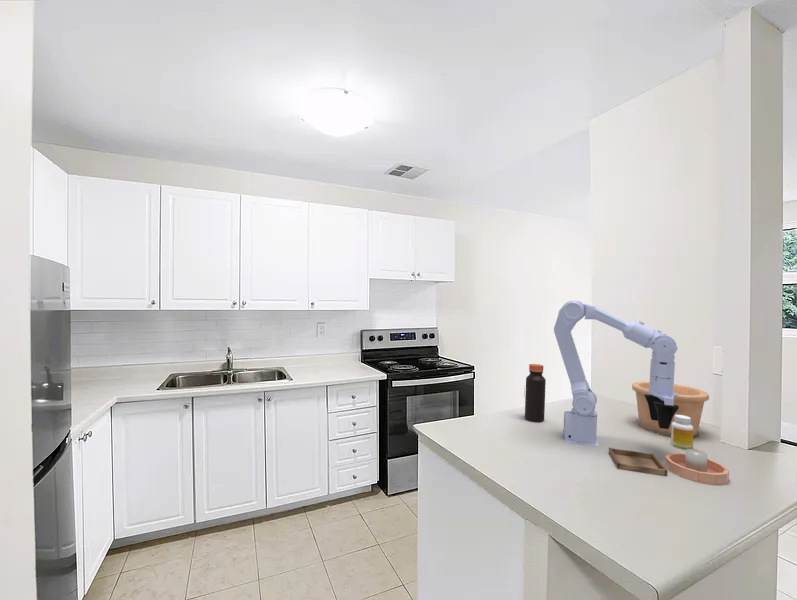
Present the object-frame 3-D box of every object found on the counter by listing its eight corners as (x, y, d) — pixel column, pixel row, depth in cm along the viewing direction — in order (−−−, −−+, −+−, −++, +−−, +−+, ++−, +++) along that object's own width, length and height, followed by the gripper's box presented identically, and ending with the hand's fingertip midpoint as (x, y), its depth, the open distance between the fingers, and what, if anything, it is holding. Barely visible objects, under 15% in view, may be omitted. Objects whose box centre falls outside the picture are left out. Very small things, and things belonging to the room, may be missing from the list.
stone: (689, 473, 97) (689, 454, 97) (682, 466, 101) (683, 447, 101) (709, 476, 96) (710, 457, 96) (702, 469, 100) (702, 450, 100)
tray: (617, 470, 99) (617, 463, 99) (608, 454, 110) (608, 447, 110) (666, 478, 96) (667, 470, 96) (652, 461, 106) (653, 453, 106)
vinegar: (546, 419, 141) (547, 364, 141) (542, 423, 136) (544, 367, 135) (527, 415, 145) (529, 362, 145) (522, 420, 139) (524, 365, 139)
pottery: (635, 415, 149) (636, 378, 149) (707, 429, 135) (709, 388, 135) (625, 429, 133) (627, 388, 132) (707, 446, 119) (708, 400, 119)
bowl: (676, 481, 95) (676, 469, 95) (659, 460, 107) (659, 450, 107) (738, 490, 91) (739, 478, 91) (713, 468, 103) (714, 457, 103)
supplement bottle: (696, 452, 113) (697, 420, 113) (676, 450, 115) (677, 418, 114) (686, 446, 119) (688, 414, 119) (667, 444, 120) (668, 413, 120)
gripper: (688, 383, 102) (685, 434, 102) (669, 373, 115) (667, 418, 115) (657, 380, 104) (654, 430, 104) (642, 371, 118) (640, 415, 118)
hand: (659, 424), depth 110 cm, fingers open, 7 cm apart
